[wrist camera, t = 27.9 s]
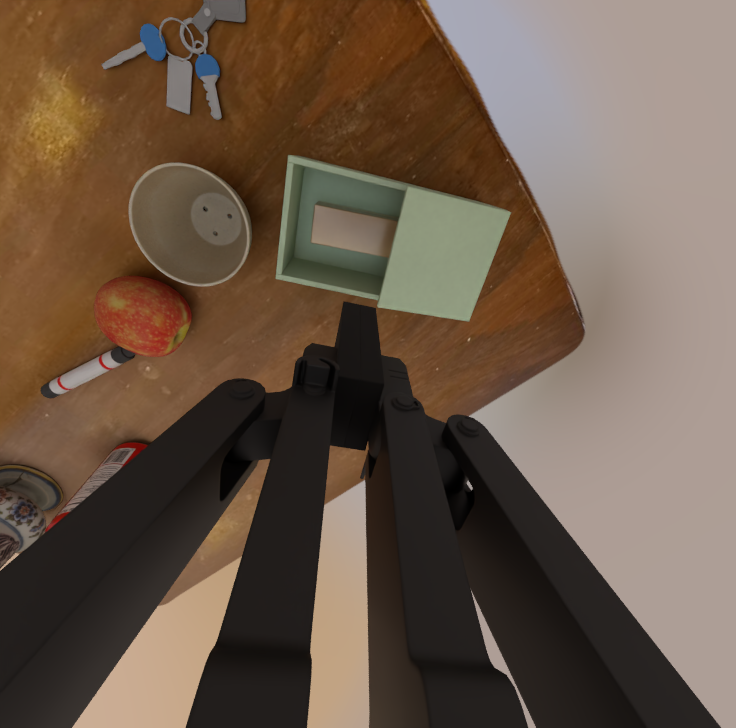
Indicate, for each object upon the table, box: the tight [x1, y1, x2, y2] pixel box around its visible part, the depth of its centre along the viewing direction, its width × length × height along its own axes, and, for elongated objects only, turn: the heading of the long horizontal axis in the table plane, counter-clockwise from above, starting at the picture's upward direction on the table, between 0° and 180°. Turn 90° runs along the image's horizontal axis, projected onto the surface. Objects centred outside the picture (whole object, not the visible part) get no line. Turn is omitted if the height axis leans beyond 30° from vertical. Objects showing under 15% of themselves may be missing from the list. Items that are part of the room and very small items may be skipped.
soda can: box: [45, 442, 148, 532], centre depth 46 cm, size 8×8×15 cm
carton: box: [276, 155, 508, 300], centre depth 35 cm, size 18×10×8 cm, turn 77°
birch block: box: [310, 201, 399, 258], centre depth 36 cm, size 4×14×4 cm, turn 79°
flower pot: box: [129, 163, 252, 286], centre depth 34 cm, size 10×10×7 cm
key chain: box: [102, 0, 246, 120], centre depth 31 cm, size 14×8×1 cm, turn 122°
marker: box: [41, 346, 136, 398], centre depth 44 cm, size 15×2×2 cm, turn 115°
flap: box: [377, 186, 511, 321], centre depth 31 cm, size 9×10×1 cm
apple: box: [94, 276, 192, 357], centre depth 38 cm, size 8×8×8 cm
